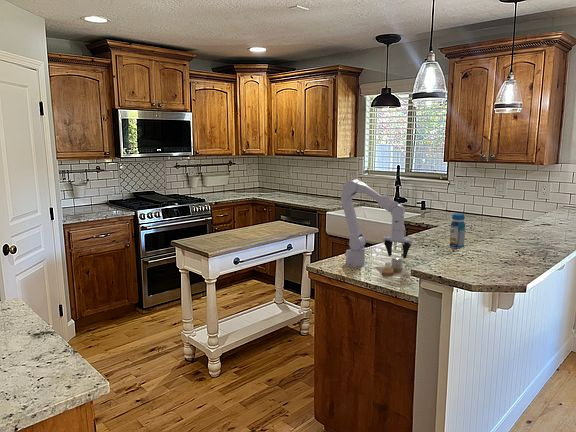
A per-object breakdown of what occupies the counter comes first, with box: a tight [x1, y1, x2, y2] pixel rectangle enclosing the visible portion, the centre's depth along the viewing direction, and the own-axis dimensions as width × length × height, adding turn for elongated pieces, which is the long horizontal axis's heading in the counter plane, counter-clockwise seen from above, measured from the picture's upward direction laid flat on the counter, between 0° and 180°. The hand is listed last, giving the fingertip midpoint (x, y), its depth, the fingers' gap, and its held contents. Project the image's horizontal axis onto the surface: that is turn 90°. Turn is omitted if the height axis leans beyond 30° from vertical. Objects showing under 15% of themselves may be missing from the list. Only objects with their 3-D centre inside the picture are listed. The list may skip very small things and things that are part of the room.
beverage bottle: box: [449, 212, 466, 249], centre depth 263 cm, size 8×8×20 cm
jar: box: [382, 262, 394, 275], centre depth 211 cm, size 5×5×5 cm
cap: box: [390, 257, 404, 270], centre depth 219 cm, size 5×5×5 cm
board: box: [374, 265, 412, 278], centre depth 215 cm, size 13×17×1 cm
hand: (397, 256), depth 218 cm, fingers open, 7 cm apart
